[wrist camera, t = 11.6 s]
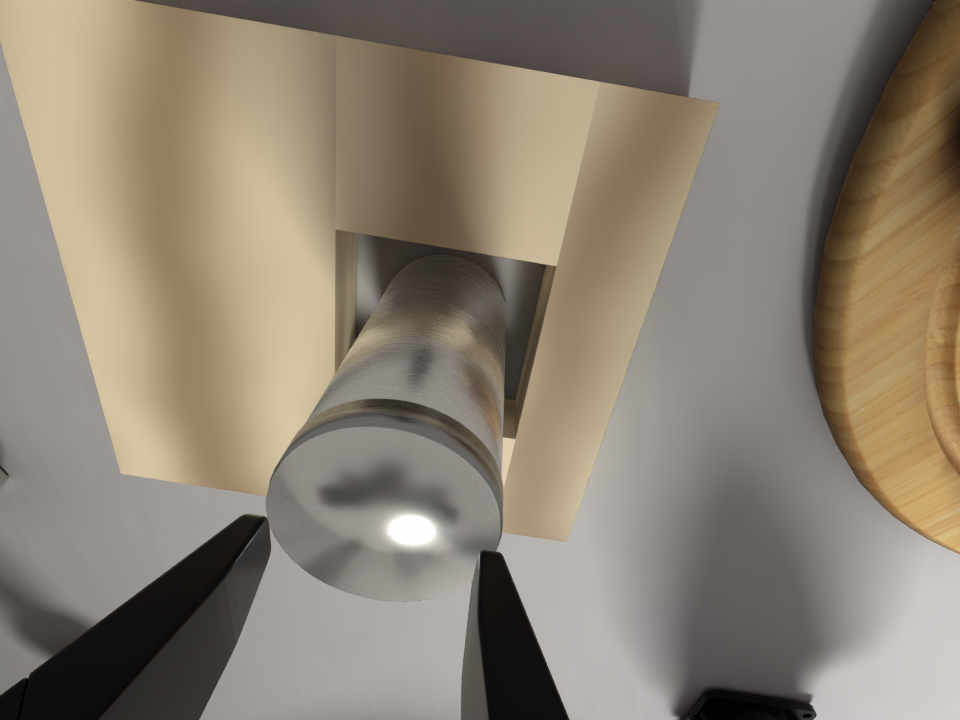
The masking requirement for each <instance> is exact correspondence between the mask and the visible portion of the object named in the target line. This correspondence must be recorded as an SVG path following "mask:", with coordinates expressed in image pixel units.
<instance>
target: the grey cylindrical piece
mask: <svg viewBox="0 0 960 720" xmlns="http://www.w3.org/2000/svg"><path fill="white" fill-rule="evenodd" d="M505 349H506V304H505V300H504V297H503V294H502V292H501V289H500V287H499V286H498V284H497V283H496V281H495V280H494V279H493V277H492V276H491V275H490V274H489V273H488V272H487V271H486V270H485V269H483V268H482V267H480V266H479V265H478V264H476V263H474V262H472V261H470V260H468V259H465V258H463V257H459V256H455V255H448V254H435V255H428V256H425V257H421V258H418V259H416V260H414V261H412V262H410V263H409V264H407V265H406V266H404V267H403V268H402V269H401V270H400V271H399V272H398V273H397V274H396V275H395V276H394V278H393V280H392V281H391V283H390V284H389V286H388V288H387V289H386V291H385V293H384V294H383V296H382V298H381V299H380V301H379V302H378V304H377V306H376V307H375V309H374V311H373V312H372V314H371V316H370V317H369V319H368V321H367V322H366V324H365V326H364V327H363V329H362V331H361V332H360V334H359V335H358V337H357V339H356V340H355V342H354V344H353V345H352V347H351V349H350V350H349V352H348V354H347V355H346V357H345V359H344V360H343V362H342V364H341V365H340V367H339V369H338V370H337V372H336V373H335V375H334V377H333V378H332V380H331V382H330V383H329V385H328V387H327V388H326V390H325V392H324V393H323V395H322V397H321V398H320V400H319V402H318V403H317V405H316V406H315V408H314V410H313V411H312V413H311V415H310V416H309V418H308V420H307V421H306V423H305V424H304V426H303V427H302V428H301V429H300V430H299V431H298V432H297V433H296V435H295V437H294V438H293V440H292V441H291V443H290V444H289V446H288V448H287V449H286V451H285V453H284V454H283V456H282V457H281V459H280V461H279V462H278V464H277V466H276V467H275V469H274V471H273V474H272V476H271V479H270V483H269V487H268V492H267V497H266V512H267V518H268V521H269V525H270V527H271V530H272V532H273V534H274V536H275V538H276V540H277V542H278V543H279V544H280V546H281V547H282V549H283V550H284V551H285V552H286V553H287V554H288V556H289V557H290V558H291V559H292V560H293V561H294V562H295V563H297V564H298V565H299V566H300V567H301V568H302V569H304V570H305V571H307V572H308V573H309V574H311V575H312V576H314V577H315V578H317V579H319V580H321V581H322V582H324V583H326V584H328V585H330V586H332V587H335V588H337V589H339V590H342V591H345V592H348V593H350V594H354V595H358V596H361V597H365V598H371V599H376V600H384V601H401V602H406V601H420V600H426V599H432V598H436V597H440V596H444V595H446V594H449V593H452V592H454V591H456V590H458V589H460V588H462V587H464V586H466V585H468V584H469V583H471V582H472V581H473V576H474V571H475V567H476V562H477V558H478V554H479V552H480V551H481V550H489V551H495V552H496V550H497V548H498V545H499V542H500V539H501V535H502V529H503V499H504V494H503V482H502V450H503V416H504V383H505Z"/></svg>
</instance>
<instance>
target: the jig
mask: <svg viewBox="0 0 960 720" xmlns="http://www.w3.org/2000/svg"><path fill="white" fill-rule="evenodd" d="M0 42H1V45H2V49H3V52H4V56H5V60H6V63H7V67H8V70H9V74H10V78H11V81H12V85H13V88H14V92H15V95H16V99H17V103H18V106H19V110H20V113H21V117H22V121H23V124H24V128H25V131H26V135H27V139H28V142H29V146H30V149H31V153H32V156H33V160H34V164H35V167H36V171H37V174H38V178H39V182H40V185H41V189H42V192H43V196H44V199H45V203H46V207H47V210H48V214H49V217H50V221H51V225H52V228H53V232H54V235H55V239H56V242H57V246H58V250H59V253H60V257H61V260H62V264H63V268H64V271H65V275H66V278H67V282H68V285H69V289H70V293H71V296H72V300H73V303H74V307H75V311H76V314H77V318H78V321H79V325H80V329H81V332H82V336H83V339H84V343H85V346H86V350H87V354H88V357H89V361H90V364H91V368H92V372H93V375H94V379H95V382H96V386H97V389H98V393H99V397H100V400H101V404H102V407H103V411H104V415H105V418H106V422H107V425H108V429H109V432H110V436H111V440H112V443H113V447H114V450H115V454H116V458H117V461H118V465H119V468H120V472H121V474H126V475H133V476H139V477H146V478H152V479H159V480H165V481H172V482H178V483H185V484H191V485H198V486H204V487H211V488H218V489H224V490H231V491H237V492H244V493H250V494H257V495H263V496H267V492H268V487H269V483H270V479H271V476H272V474H273V471H274V469H275V467H276V466H277V464H278V462H279V461H280V459H281V457H282V456H283V454H284V453H285V451H286V449H287V448H288V446H289V444H290V443H291V441H292V440H293V438H294V437H295V435H296V433H297V432H298V431H299V430H300V429H301V428H302V427H303V426H304V424H305V423H306V421H307V420H308V418H309V416H310V415H311V413H312V411H313V410H314V408H315V406H316V405H317V403H318V402H319V400H320V398H321V397H322V395H323V393H324V392H325V390H326V388H327V387H328V385H329V383H330V382H331V380H332V378H333V377H334V375H335V373H336V372H337V370H338V369H339V367H340V365H341V364H342V362H343V360H344V359H345V357H346V355H347V354H348V352H349V350H350V349H351V347H352V345H353V344H354V342H355V327H356V292H357V258H358V233H360V234H366V235H372V236H378V237H384V238H390V239H396V240H402V241H408V242H414V243H420V244H426V245H432V246H438V247H444V248H450V249H456V250H462V251H468V252H474V253H480V254H486V255H492V256H498V257H504V258H511V259H517V260H523V261H529V262H535V263H541V264H546V266H545V271H544V275H543V280H542V284H541V289H540V293H539V297H538V302H537V306H536V311H535V315H534V320H533V324H532V328H531V333H530V337H529V342H528V346H527V351H526V355H525V359H524V364H523V368H522V373H521V377H520V382H519V386H518V390H517V395H516V399H515V400H512V399H506V398H504V416H503V450H502V482H503V494H504V499H503V529H502V532H505V533H511V534H518V535H524V536H531V537H537V538H544V539H550V540H557V541H563V542H567V540H568V537H569V534H570V531H571V529H572V526H573V523H574V520H575V517H576V514H577V511H578V509H579V506H580V503H581V500H582V497H583V494H584V491H585V488H586V486H587V483H588V480H589V477H590V474H591V471H592V468H593V466H594V463H595V460H596V457H597V454H598V451H599V448H600V445H601V443H602V440H603V437H604V434H605V431H606V428H607V425H608V423H609V420H610V417H611V414H612V411H613V408H614V405H615V402H616V400H617V397H618V394H619V391H620V388H621V385H622V382H623V380H624V377H625V374H626V371H627V368H628V365H629V362H630V360H631V357H632V354H633V351H634V348H635V345H636V342H637V339H638V337H639V334H640V331H641V328H642V325H643V322H644V319H645V317H646V314H647V311H648V308H649V305H650V302H651V299H652V296H653V294H654V291H655V288H656V285H657V282H658V279H659V276H660V274H661V271H662V268H663V265H664V262H665V259H666V256H667V253H668V251H669V248H670V245H671V242H672V239H673V236H674V233H675V231H676V228H677V225H678V222H679V219H680V216H681V213H682V210H683V208H684V205H685V202H686V199H687V196H688V193H689V190H690V188H691V185H692V182H693V179H694V176H695V173H696V170H697V168H698V165H699V162H700V159H701V156H702V153H703V150H704V147H705V145H706V142H707V139H708V136H709V133H710V130H711V127H712V125H713V122H714V119H715V116H716V113H717V110H718V107H719V104H720V103H719V102H713V101H707V100H702V99H696V98H690V97H684V96H679V95H673V94H667V93H662V92H656V91H650V90H644V89H639V88H633V87H627V86H622V85H616V84H610V83H605V82H599V81H593V80H587V79H582V78H576V77H570V76H565V75H559V74H553V73H547V72H542V71H536V70H530V69H525V68H519V67H513V66H507V65H502V64H496V63H490V62H485V61H479V60H473V59H467V58H462V57H456V56H450V55H445V54H439V53H433V52H427V51H422V50H416V49H410V48H405V47H399V46H393V45H387V44H382V43H376V42H370V41H365V40H359V39H353V38H348V37H342V36H336V35H330V34H325V33H319V32H313V31H308V30H302V29H296V28H290V27H285V26H279V25H273V24H268V23H262V22H256V21H250V20H245V19H239V18H233V17H228V16H222V15H216V14H210V13H205V12H199V11H193V10H188V9H182V8H176V7H170V6H165V5H159V4H153V3H148V2H142V1H136V0H0Z"/></svg>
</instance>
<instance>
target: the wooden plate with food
mask: <svg viewBox="0 0 960 720" xmlns="http://www.w3.org/2000/svg"><path fill="white" fill-rule="evenodd" d="M813 333H814V370H815V381H816V385H817V389H818V393H819V398H820V402H821V406H822V410H823V415H824V417H825V419H826V422H827V424H828V426H829V429H830V431H831V433H832V435H833V438H834V440H835V442H836V444H837V446H838V448H839V449H840V451H841V453H842V454H843V456H844V458H845V459H846V461H847V463H848V464H849V466H850V468H851V469H852V471H853V472H854V474H855V476H856V477H857V479H858V481H859V482H860V483H861V484H862V485H863V486H864V487H865V489H866V490H867V491H868V492H869V493H870V494H871V495H872V496H873V497H874V498H875V499H876V500H877V501H878V502H879V503H880V504H881V505H882V506H883V507H884V508H885V509H886V510H887V511H888V512H889V513H891V514H892V515H893V516H894V517H895V518H897V519H898V520H899V521H901V522H902V523H904V524H905V525H907V526H908V527H910V528H911V529H913V530H914V531H916V532H917V533H919V534H920V535H922V536H924V537H925V538H927V539H928V540H930V541H933V542H935V543H937V544H939V545H941V546H943V547H945V548H947V549H949V550H951V551H954V552H956V553H958V554H960V0H935V2H934V3H933V5H932V6H931V8H930V9H929V11H928V12H927V14H926V16H925V17H924V19H923V21H922V23H921V24H920V26H919V28H918V30H917V31H916V33H915V35H914V37H913V38H912V40H911V42H910V43H909V45H908V47H907V49H906V50H905V52H904V54H903V56H902V57H901V59H900V61H899V63H898V64H897V66H896V68H895V70H894V71H893V73H892V75H891V76H890V78H889V80H888V82H887V84H886V87H885V89H884V91H883V94H882V96H881V98H880V101H879V103H878V105H877V107H876V109H875V111H874V114H873V116H872V118H871V120H870V122H869V124H868V126H867V129H866V131H865V133H864V135H863V137H862V139H861V141H860V144H859V146H858V148H857V150H856V152H855V154H854V156H853V159H852V162H851V165H850V167H849V170H848V173H847V175H846V178H845V181H844V183H843V186H842V189H841V192H840V195H839V198H838V201H837V205H836V208H835V211H834V215H833V218H832V221H831V224H830V228H829V231H828V234H827V238H826V241H825V247H824V252H823V259H822V265H821V271H820V277H819V283H818V289H817V297H816V305H815V312H814V320H813Z"/></svg>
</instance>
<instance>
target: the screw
mask: <svg viewBox="0 0 960 720" xmlns="http://www.w3.org/2000/svg"><path fill="white" fill-rule="evenodd" d="M7 479H8V476H7V475H6V474H5V473H4V472H3V470H2V469H1V468H0V489H1V488H2V486H3V485H4V483H5V482H6V480H7Z"/></svg>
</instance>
